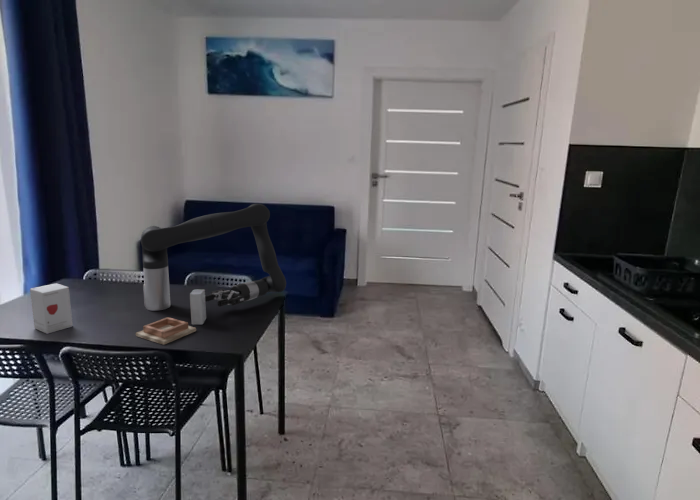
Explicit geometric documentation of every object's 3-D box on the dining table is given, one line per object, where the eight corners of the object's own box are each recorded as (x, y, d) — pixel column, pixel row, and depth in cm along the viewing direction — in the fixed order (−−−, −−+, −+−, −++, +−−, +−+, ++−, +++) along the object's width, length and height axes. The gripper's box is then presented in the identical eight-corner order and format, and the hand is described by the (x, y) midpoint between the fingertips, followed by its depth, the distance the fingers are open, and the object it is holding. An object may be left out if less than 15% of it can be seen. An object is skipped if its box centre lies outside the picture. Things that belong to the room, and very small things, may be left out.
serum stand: (135, 336, 157) (135, 326, 156) (169, 323, 169) (168, 314, 168) (163, 344, 150) (163, 335, 149) (196, 331, 162) (195, 322, 162)
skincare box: (195, 318, 174) (193, 289, 171) (206, 318, 174) (205, 289, 172) (191, 324, 168) (189, 293, 165) (202, 324, 168) (201, 293, 166)
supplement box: (46, 334, 156) (41, 293, 153) (33, 328, 161) (28, 288, 158) (73, 326, 164) (69, 286, 161) (61, 321, 168) (56, 282, 165)
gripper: (233, 280, 190) (200, 288, 178) (256, 286, 182) (222, 295, 169) (234, 297, 192) (200, 306, 179) (256, 304, 183) (223, 314, 171)
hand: (211, 301), depth 174 cm, fingers open, 8 cm apart
